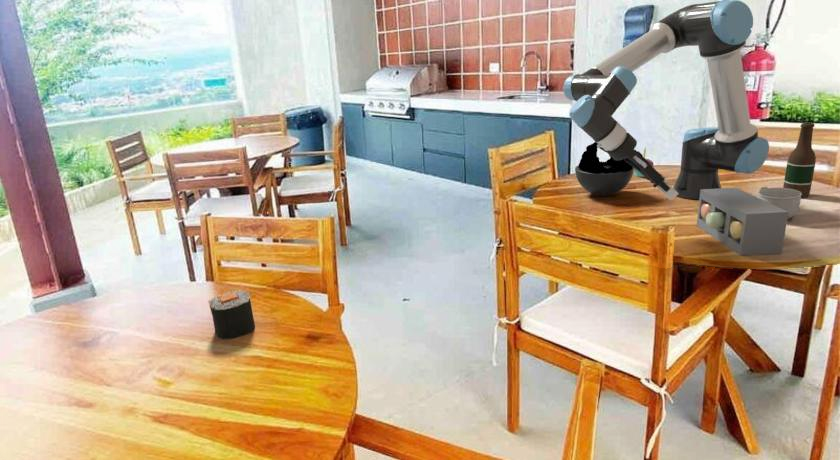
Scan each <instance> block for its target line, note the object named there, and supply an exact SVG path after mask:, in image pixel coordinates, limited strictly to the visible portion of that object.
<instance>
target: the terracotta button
mask: <svg viewBox="0 0 840 460" xmlns="http://www.w3.org/2000/svg"><path fill="white" fill-rule="evenodd" d="M710 212H711V204H703V205H702V207H701V216H702V218H703V219H706V216H707V214H708V213H710Z"/></svg>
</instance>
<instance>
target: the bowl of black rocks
mask: <svg viewBox="0 0 840 460" xmlns="http://www.w3.org/2000/svg"><path fill="white" fill-rule="evenodd" d="M598 144H599V143H596V142H595V141H594V142H593V143H591V144H588V145H587V146H586V148H585V150H584V151H583V152H582V155H581V158H580V160H579V162H578V165H576V166H575V167H574V172H575V176H576V179H577V182H578V183H579V185H580V186H581V187H582V189H585V191H587V192H588V193H591V194H593V195H596V196H604V197H605V196H611V195H614V194H617V193H619V192H620V191H622V190H623V189H624V188H626V187H627V185H628V184H629V183H630V181H631V180H632V178H633V175H634V173H635V171H634V168H633V167H632V166H631V165H630V164H628V163H627V162H626V161H625V160H624V159H622V160H619V161H616V160H614V159H613V158H612V157H611V156H610V155H609V154H608V156H609V158H608V159H606V161H600V158H599V157H598V149H600V150H602V151H603V152H605V153H607V151H605V150H604V149H603V148H602V147H599V148H598V147H597V145H598Z"/></svg>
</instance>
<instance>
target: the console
mask: <svg viewBox="0 0 840 460" xmlns="http://www.w3.org/2000/svg"><path fill="white" fill-rule="evenodd" d="M698 200H699V201H698V207H697V208H698V209H697V210H698V211H697V216H696V217H697V219H696V227H698V228H699V229H701V230H702V231H704V232H706V233H707V234H709V235H710V236H711V237H713V238H714V239H716V240H717V241H719V242H720V243H722V244H723V245H724V246H726V247H727V248H728V249H730V250H732V251H733V252H735V253H736V254H737V255H740V256H741V257H742V256H761V255H777V254H778V255H782V254H783V247H784V242H785V235H786V229H787V224H788V219H787V218H788V211H785V210H783V209H781V208H779V207H777V206H775V205H773V204H770V203H768V202H766V201H764V200H762V199H760V198H758V196H755V195H753V194H752V193H748V192H746V191H744V190H743V189H740V188H738V187H723V188H722V187H721V188H718V189H700V198H699V199H698ZM703 204H711V212H710V213H714V212H724V213H725V214H726V220H725V228H718V229H709V228H708V227H707V225H706V219H703V218H702V216H701V207H702V205H703ZM733 221H741V222H743V226H742V234H741V238H733V237H732V236H731V233H730V225H731V223H732V222H733Z"/></svg>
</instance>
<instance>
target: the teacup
mask: <svg viewBox="0 0 840 460" xmlns="http://www.w3.org/2000/svg"><path fill="white" fill-rule="evenodd" d="M801 195H802V193H801V192H800V191H797V190H794V189H789V188H783V187H767V186H763V187H761V188H759V190H758V191H757V198H760V199H762V200H764V201H766V202H768V203H770V204H773V205H775V206H777V207H779V208H781V209H783V210H785V211H788V218H787V220H789V219H791V218H792V217H794V216H796V215H797V214H798V212H799V210H800V205H801V199H802V198H801Z"/></svg>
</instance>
